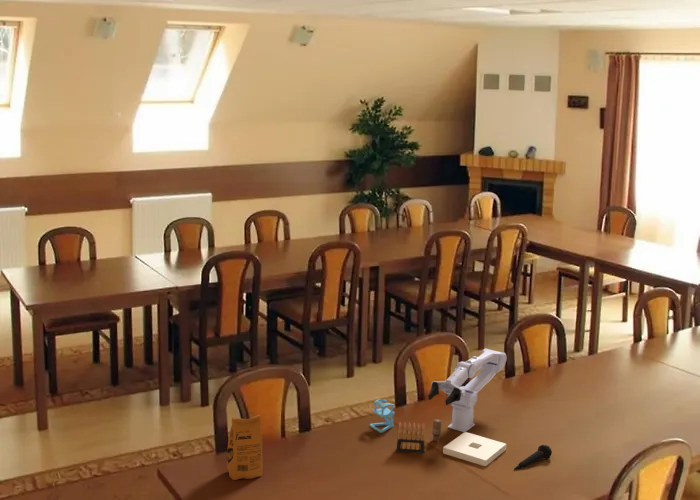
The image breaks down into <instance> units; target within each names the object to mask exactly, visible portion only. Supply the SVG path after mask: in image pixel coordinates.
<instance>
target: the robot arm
mask: <svg viewBox="0 0 700 500" xmlns="http://www.w3.org/2000/svg"><path fill="white" fill-rule="evenodd" d="M506 362H507V354H506V352H502V351H498V350H492V349H488V347H487V348H484V349H482V351H481V354H480V355H479V356H476V355H474V356H472V357H471V358H469V359H468V360H466V361H458V362H457V364H456V367H455V368H454V370H453V372H452V373H451V375H450V376H449V377H448V378H446V379H445V380H440V381H436V380H433V381H432V382H431V383H430V391H429V393H428V394H427V395H428V396H427V398H428V400H429V401H430V400H433V399H434V397H435V396H438V395H439V394H440V390H441V392H443V393H444V394H446V395H447V398H446V399H445V405H446V406H449V405H451V407H452V413H451V414H452V416H451V417H452V419H451V423H450V424H449V425H448V426H447V428H449V429H451V430H455V431H458V432H462V433H464V432H467V431H469V430H470V429H472V428H473V427H474V426H475V425H476V424H475V423H474V413H475V411H474V410H475V409H474V407H475V406H476V402H477V401H478V393H479V392H480V391H481V390H482V389H483V388H484V387H485V386H486V385H487V384H488V383H489V382H490V381H492V379H493V378H494V377H495V376H496V374H498V373H500V372H501V371H502V370H503V368H504V367H506ZM479 370H481V371H479ZM478 371H479V372H478ZM477 372H478V373H477ZM476 373H477V374H476ZM469 378H470V379H471V380H470V381H469V382H468V383H467V384H465V386H464V385H463V384H464V383H465V382H466V380H468V379H469Z"/></svg>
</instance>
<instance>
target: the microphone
mask: <svg viewBox="0 0 700 500" xmlns="http://www.w3.org/2000/svg"><path fill="white" fill-rule="evenodd" d="M552 451H553V450H552V449H551V447H550V446H549V445H546V444H542V445H539V446H538V447H537V451H535V452H534V453H532V454H530V455H529V456H528V457H526V458H525V459H523V460H522V461H520V462H519V464H517V466H515V467H514V468H513V471H517V470H520V469H525V468H526V467H529V466H530V465H533V464H535V463H536V462H538V461H541V460H549V459H550V458H551V457H552V453H553V452H552Z"/></svg>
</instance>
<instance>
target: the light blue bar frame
mask: <svg viewBox="0 0 700 500" xmlns="http://www.w3.org/2000/svg"><path fill="white" fill-rule="evenodd" d="M373 404H374V409H372V413H374V414H375V415H378V416H379V417H380V418H384V420H385V422H375V423H369V427H370V428H372V429H373V430H375V431H377V432H378V433H380V434H383V433H384V432H386V431H387V430H389V429H391V428H393V427H394V415H395V412H396V411H394V410H393V409H394V407H395V404H394V403H390V402H387V399H384V398H383V399H382V398H378V399H376V400H374V402H373ZM378 407H379V408H378ZM388 407H391V408H388ZM379 426H386V427H384V428H382V429H380V428H378V427H379Z"/></svg>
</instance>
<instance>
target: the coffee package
mask: <svg viewBox="0 0 700 500" xmlns="http://www.w3.org/2000/svg"><path fill="white" fill-rule="evenodd" d="M230 427H231V428H230V432H229V434H228V435H229V437H228V442H227V449H226V450H227V451H226V468H227V471H228V473H229V474H228V476H229V478H230V479H232V480H233V481H236V480H241V479H246V480H251V479H255V478H258V477H259V478H260V477H262V476H263V466H264V465H263V429H262V415H260V414H258V415H254V416H252V417H249V418H239V417H232V418H231V426H230Z"/></svg>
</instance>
